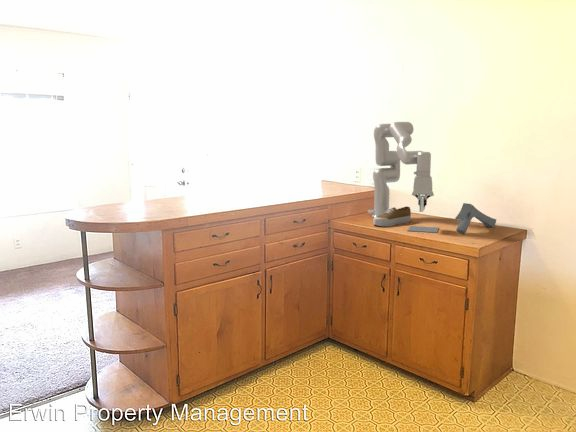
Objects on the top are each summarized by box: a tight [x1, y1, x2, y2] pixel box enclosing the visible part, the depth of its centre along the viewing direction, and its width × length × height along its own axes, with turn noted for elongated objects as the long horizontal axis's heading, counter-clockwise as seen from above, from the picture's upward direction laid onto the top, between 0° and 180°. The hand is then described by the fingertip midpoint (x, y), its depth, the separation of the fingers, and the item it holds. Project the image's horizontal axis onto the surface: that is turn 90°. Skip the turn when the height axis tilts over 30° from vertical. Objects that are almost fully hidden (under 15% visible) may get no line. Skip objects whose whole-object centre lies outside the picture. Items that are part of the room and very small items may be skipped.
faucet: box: [454, 202, 497, 235], centre depth 274 cm, size 6×17×30 cm
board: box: [419, 195, 426, 213], centre depth 277 cm, size 2×12×8 cm, turn 159°
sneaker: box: [372, 206, 412, 227], centre depth 298 cm, size 10×29×10 cm, turn 123°
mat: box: [407, 225, 439, 234], centre depth 280 cm, size 16×13×1 cm
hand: (422, 206), depth 278 cm, fingers closed on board, 1 cm apart
